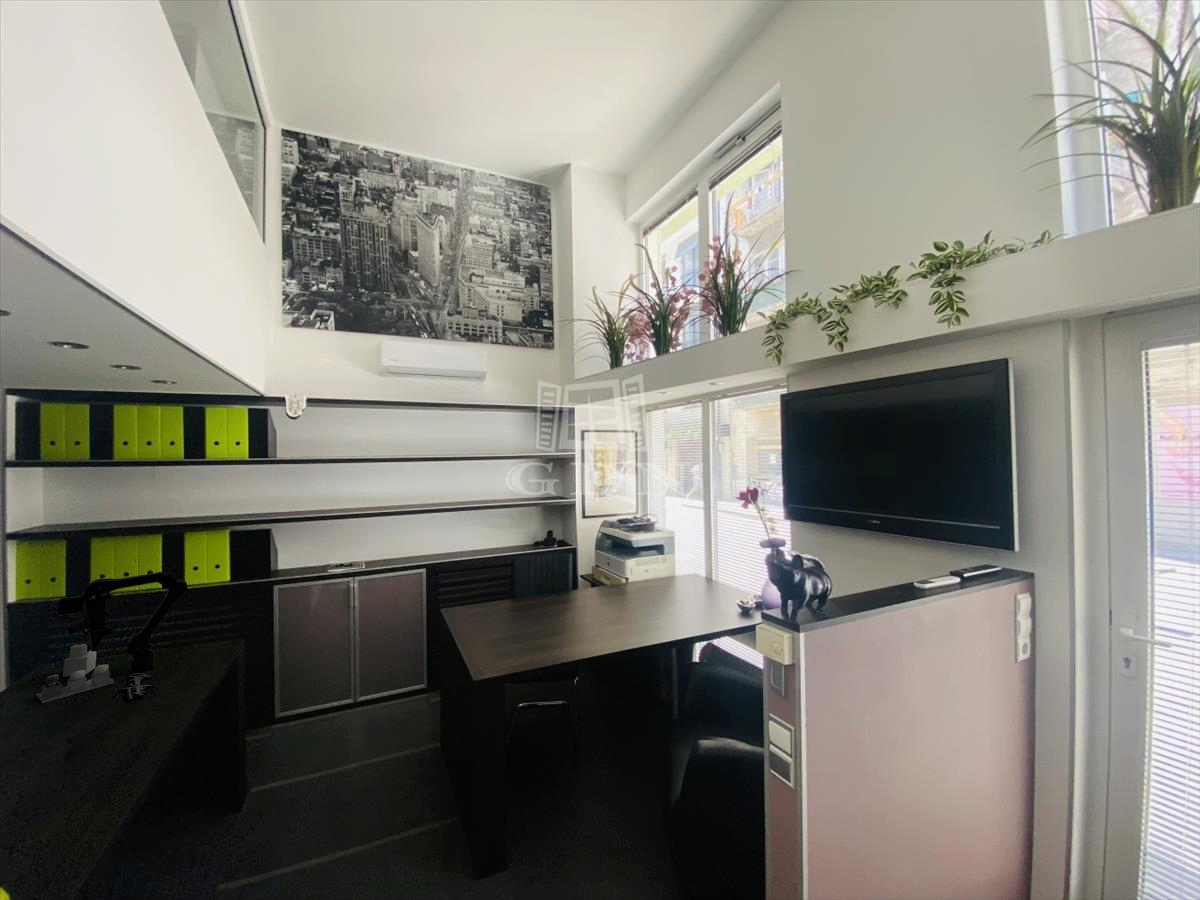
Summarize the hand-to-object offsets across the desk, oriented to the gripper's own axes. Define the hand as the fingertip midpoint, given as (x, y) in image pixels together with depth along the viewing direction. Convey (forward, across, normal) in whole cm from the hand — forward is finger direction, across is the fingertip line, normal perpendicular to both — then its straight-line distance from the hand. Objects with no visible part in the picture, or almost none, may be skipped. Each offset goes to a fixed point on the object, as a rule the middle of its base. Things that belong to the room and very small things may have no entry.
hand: (93, 648), depth 191 cm
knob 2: (+12, +6, +1) cm, 13 cm away
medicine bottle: (+13, -13, -1) cm, 18 cm away
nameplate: (+13, +22, +8) cm, 27 cm away
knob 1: (+12, +6, -5) cm, 14 cm away
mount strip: (+12, +6, -6) cm, 15 cm away
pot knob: (+9, +6, -12) cm, 16 cm away
